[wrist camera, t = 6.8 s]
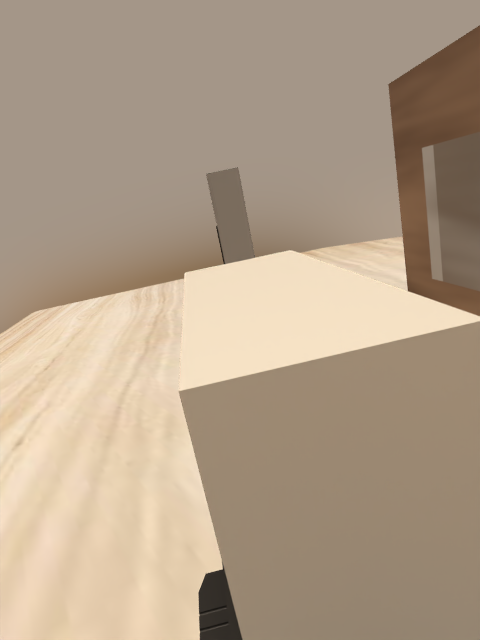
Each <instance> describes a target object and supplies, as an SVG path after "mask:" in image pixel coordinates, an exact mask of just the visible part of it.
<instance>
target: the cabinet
mask: <svg viewBox="0 0 480 640" xmlns="http://www.w3.org/2000/svg"><path fill="white" fill-rule="evenodd" d="M389 94H390V106H391V116H392V127H393V137H394V147H395V158H396V169H397V180H398V189H399V201H400V212H401V221H402V233H403V244H404V254H405V265H406V275H407V286H408V291H409V292H412V293H414V294H417V295H420V296H423V297H426V298H429V299H432V300H434V301H437V302H440V303H443V304H446V305H449V306H451V307H454V308H457V309H460V310H463V311H466V312H469V313H471V314H474V315H477V316H480V26H478V27H477V28H475V29H473V30H472V31H470V32H469V33H467V34H466V35H464V36H463V37H461V38H459V39H458V40H456V41H455V42H453V43H452V44H450V45H449V46H447V47H446V48H444V49H442V50H441V51H439V52H438V53H436V54H435V55H433V56H432V57H430V58H428V59H427V60H425V61H424V62H422V63H421V64H419V65H418V66H416V67H415V68H413V69H411V70H410V71H408V72H407V73H405V74H404V75H402V76H401V77H399V78H397V79H396V80H394V81H393V82H391V83H390V84H389Z"/></svg>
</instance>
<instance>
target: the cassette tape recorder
mask: <svg viewBox="0 0 480 640" xmlns="http://www.w3.org/2000/svg"><path fill="white" fill-rule="evenodd" d="M206 176H207V180H208V185H209V190H210V195H211V200H212V205H213V210H214V214H215V219H216V223H217V226H216V228H217V233H218V238H219V243H220V247H221V252H222V257H223V262H224V264H229V263H233V262H238V261H243V260H247V259H252V258H255V255H254V250H253V244H252V240H251V234H250V228H249V223H248V217H247V212H246V207H245V201H244V196H243V191H242V186H241V181H240V175H239V170H238V167H237V168H233V169H228V170H223V171H218V172H213V173H208V174H207V175H206Z"/></svg>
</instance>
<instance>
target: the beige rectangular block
mask: <svg viewBox="0 0 480 640" xmlns="http://www.w3.org/2000/svg"><path fill="white" fill-rule="evenodd" d="M179 394H180V398H181V402H182V406H183V410H184V414H185V418H186V422H187V426H188V429H189V433H190V437H191V441H192V445H193V449H194V453H195V457H196V461H197V464H198V468H199V472H200V476H201V480H202V484H203V488H204V492H205V496H206V500H207V503H208V507H209V511H210V515H211V519H212V523H213V527H214V531H215V535H216V538H217V542H218V546H219V550H220V554H221V558H222V562H223V566H224V570H225V574H226V577H227V581H228V585H229V589H230V593H231V597H232V601H233V605H234V609H235V612H236V616H237V620H238V624H239V628H240V632H241V636H242V640H480V316H477V315H474V314H471V313H469V312H466V311H463V310H460V309H457V308H454V307H451V306H449V305H446V304H443V303H440V302H437V301H434V300H432V299H429V298H426V297H423V296H420V295H417V294H414V293H412V292H409V291H406V290H403V289H400V288H397V287H395V286H392V285H389V284H386V283H383V282H380V281H377V280H375V279H372V278H369V277H366V276H363V275H360V274H357V273H355V272H352V271H349V270H346V269H343V268H340V267H338V266H335V265H332V264H329V263H326V262H323V261H320V260H318V259H315V258H312V257H309V256H306V255H303V254H300V253H298V252H295V251H292V250H290V251H285V252H280V253H275V254H271V255H266V256H261V257H257V258H252V259H247V260H243V261H238V262H233V263H229V264H224V265H219V266H215V267H210V268H205V269H201V270H196V271H191V272H187V273H185V275H184V295H183V315H182V335H181V355H180V375H179Z"/></svg>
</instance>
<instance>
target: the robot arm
mask: <svg viewBox="0 0 480 640" xmlns="http://www.w3.org/2000/svg"><path fill="white" fill-rule="evenodd" d="M222 565H223V562H222ZM199 614H200V616H199V623H200V640H242V636H241V632H240V628H239V624H238V620H237V616H236V612H235V609H234V605H233V601H232V597H231V593H230V589H229V585H228V581H227V577H226V574H225V570H224V566H223V570H219V571H215V572H211V573H207V574H206V575H205V577H204V580H203V583H202V585H201V588H200V590H199Z"/></svg>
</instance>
